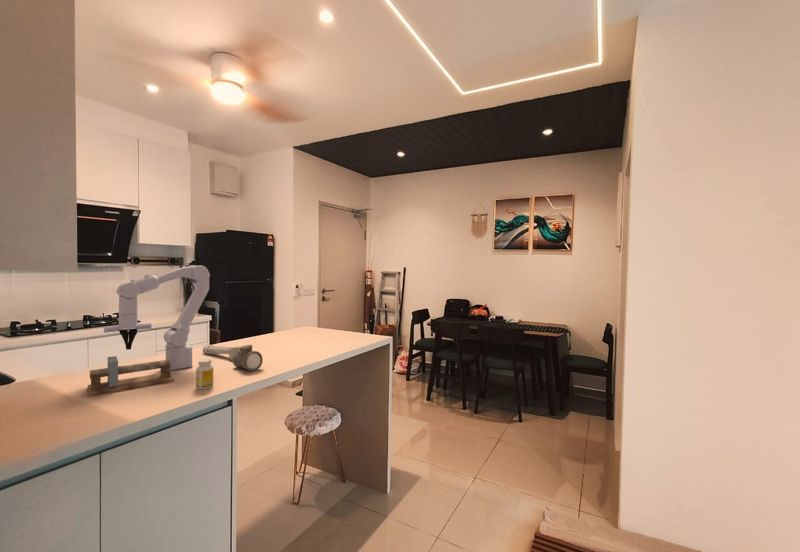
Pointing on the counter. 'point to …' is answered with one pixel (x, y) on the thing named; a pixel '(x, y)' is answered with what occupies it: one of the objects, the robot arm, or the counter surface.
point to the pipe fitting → (248, 358)
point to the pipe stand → (130, 383)
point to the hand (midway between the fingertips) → (128, 349)
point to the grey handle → (221, 350)
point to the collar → (113, 371)
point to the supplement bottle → (204, 374)
